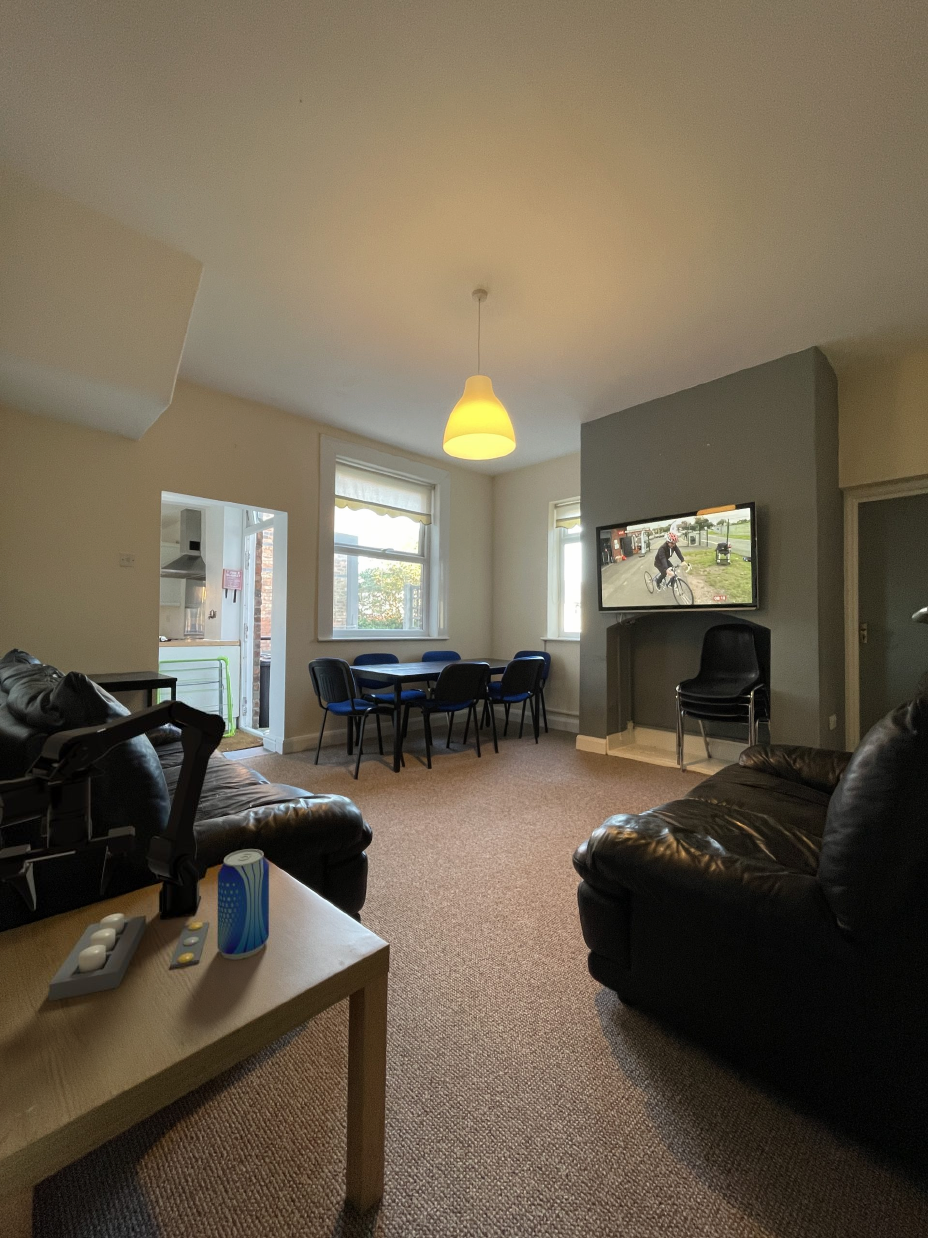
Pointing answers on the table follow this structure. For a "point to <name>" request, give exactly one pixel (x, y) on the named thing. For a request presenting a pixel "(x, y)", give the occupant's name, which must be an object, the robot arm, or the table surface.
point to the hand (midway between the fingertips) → (68, 901)
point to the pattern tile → (190, 944)
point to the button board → (107, 977)
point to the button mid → (104, 939)
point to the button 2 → (113, 923)
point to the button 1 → (92, 959)
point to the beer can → (243, 904)
